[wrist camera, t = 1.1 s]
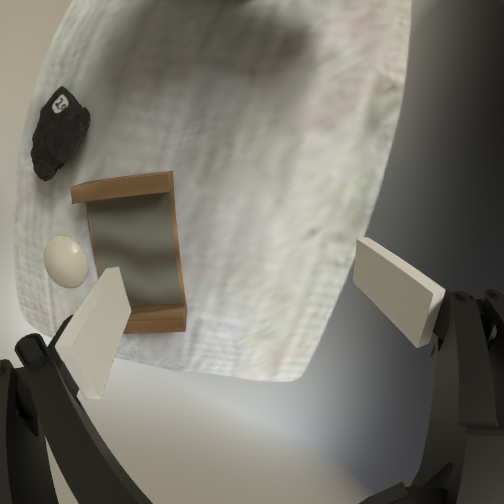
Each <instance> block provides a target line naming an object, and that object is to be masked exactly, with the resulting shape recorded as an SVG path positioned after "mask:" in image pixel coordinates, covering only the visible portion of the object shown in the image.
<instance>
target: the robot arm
mask: <svg viewBox="0 0 504 504" xmlns="http://www.w3.org/2000/svg"><path fill="white" fill-rule="evenodd" d="M353 282H354V283H355V284H356V285H357V286H358V287H359V288H360V289H361V290H362V291H363V292H364V293H365V294H366V295H367V296H368V297H369V298H370V299H371V300H372V301H373V302H374V303H375V304H376V305H377V306H378V307H379V308H380V309H381V310H382V312H383V313H384V314H385V315H386V316H387V317H388V318H389V319H390V320H391V321H392V322H393V323H394V324H395V325H396V326H397V327H398V328H399V329H400V330H401V331H402V332H403V333H404V334H405V336H406V337H407V338H408V339H409V340H410V341H411V342H412V343H413V344H414V345H415V346H416V347H417V348H418V347H421V346H423V345H426V344H428V343H429V342H430V339H431V336H432V333H433V332H434V333H435V334H436V335H437V339H436V342H435V344H434V347H433V349H432V352H431V355H430V356H433V353H435V364H434V366H435V367H434V382H433V394H432V403H431V411H430V419H429V426H428V432H427V438H426V443H425V448H424V453H423V457H422V461H421V465H420V468H419V471H418V473H417V474H416V476H415V478H414V480H413V482H412V484H411V486H410V487H405V486H404V484H403V482H401V483H399V484H397V485H395V486H393V487H391V488H388V489H386V490H384V491H382V492H380V493H377V494H375V495H373V496H370V497H368V498H367V499H365V500H364V501H362V502H361V503H359V504H504V294H503V293H501V292H499V290H497V289H486V290H485V291H484V294H483V297H482V299H475V298H474V297H473V296H472V295H471V294H469V293H467V292H464V291H453V292H450V291H449V290H447V289H446V288H445V287H443V286H442V285H440V284H439V283H438V282H435V280H433V279H432V278H430V277H429V276H428V275H426V274H425V273H423V272H421V271H418V270H417V269H415V268H414V267H412V266H411V265H409V264H408V263H407V262H405V261H404V260H402V259H401V258H399V257H397V256H396V255H394V254H393V253H391V252H390V251H388V250H387V249H385V248H384V247H382V246H381V245H379V244H377V243H376V242H374V241H372V240H371V239H369V238H368V237H367V238H359V239H357V242H356V256H355V268H354V278H353ZM130 313H131V308H130V305H129V301H128V298H127V295H126V291H125V288H124V284H123V280H122V277H121V273H120V269H119V267H113V268H106V270H105V271H104V272H103V274H102V275H101V276H100V278H99V279H98V281H97V282H96V283H95V285H94V286H93V288H92V289H91V290H90V292H89V293H88V295H87V296H86V298H85V299H84V301H83V302H82V303H81V305H80V306H79V308H78V309H77V311H76V313H75V314H74V315H71V316H69V317H68V318H67V319H66V320H65V321H64V322H63V323H62V325H61V326H60V328H59V329H58V331H57V332H56V335H55V336H54V337H53V339H52V340H51V342H50V344H49V345H48V347H47V346H46V344H45V342H44V340H43V338H42V336H41V335H40V334H37V333H33V334H29V335H26V336H25V337H23V338H21V339H20V340H19V341H18V342H17V344H16V346H15V352H16V354H17V355H18V357H19V359H20V361H21V362H22V364H23V366H24V367H21V368H14V367H13V366H12V364H11V362H10V361H9V360H6V359H3V360H0V504H59V503H58V499H57V496H56V492H55V488H54V484H53V479H52V475H51V471H50V465H49V460H48V453H47V448H46V440H45V436H46V438H47V441H48V444H49V446H50V448H51V450H52V453H53V455H54V457H55V459H56V462H57V464H58V466H59V468H60V470H61V472H62V474H63V476H64V478H65V480H66V482H67V484H68V486H69V487H70V489H71V491H72V493H73V494H74V496H75V498H76V499H77V501H78V503H79V504H153V503H152V502H151V501H150V500H149V499H148V498H147V497H146V495H145V494H144V493H143V492H142V491H141V490H140V489H139V487H138V486H137V485H136V484H135V483H134V481H133V480H132V479H131V478H130V476H129V475H128V474H127V473H126V472H125V470H124V469H123V468H122V466H121V465H120V464H119V462H118V461H117V459H116V458H115V457H114V455H113V454H112V453H111V451H110V450H109V448H108V447H107V445H106V444H105V442H104V441H103V439H102V438H101V436H100V435H99V433H98V432H97V430H96V428H95V427H94V425H93V424H92V422H91V420H90V418H89V417H88V415H87V413H86V412H85V410H84V408H83V406H82V404H81V402H80V401H79V400H78V398H77V393H78V391H79V390H80V391H81V393H82V394H83V396H84V397H85V399H95V400H101V399H102V395H103V392H104V388H105V385H106V382H107V379H108V376H109V372H110V369H111V366H112V363H113V360H114V357H115V354H116V352H117V349H118V346H119V343H120V340H121V337H122V335H123V332H124V329H125V327H126V324H127V321H128V319H129V316H130ZM495 327H496V329H497V334H496V337H495V338H493V336H492V334H493V332H494V329H495ZM496 421H497V424H498V427H497V424H496Z"/></svg>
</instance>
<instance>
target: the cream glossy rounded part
mask: <svg viewBox="0 0 504 504" xmlns="http://www.w3.org/2000/svg"><path fill="white" fill-rule="evenodd" d="M44 263H45V267H46V270H47V272H48V274H49V275H50V277H51V278H52V279H53V280H54V281H55V282H56V283H58V284H59V285H61V286H63V287H67V288H73V287H76V286H78V285H80V284H81V283H82V282H83V281H84V279H85V278H86V276H87V272H88V261H87V257H86V255H85V252H84V250H83V249H82V247H81V246H80V245H79V244H78V243H77V242H76V241H75V240H73V239H71V238H69V237H66V236H58V237H55V238H54V239H52V240H51V241H50V242H49V243H48V244H47V246H46V248H45V251H44Z"/></svg>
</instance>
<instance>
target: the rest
mask: <svg viewBox="0 0 504 504" xmlns="http://www.w3.org/2000/svg"><path fill="white" fill-rule="evenodd" d="M71 196H72V204H74V203H81V202H86V207H87V214H88V221H89V228H90V234H91V239H92V245H93V250H94V255H95V260H96V264H97V269H98V273H99V278H100V276H101V275H102V274H103V272H104V271H105V270H106V268H113V267H119V269H120V273H121V277H122V280H123V284H124V288H125V291H126V295H127V298H128V301H129V305H130V308H131V313H130V316H129V319H128V321H127V324H126V327H125V329H124V332H123V334H129V333H164V332H184V331H186V318H187V307H186V300H185V293H184V286H183V278H182V270H181V262H180V253H179V244H178V234H177V224H176V212H175V199H174V185H173V171H168V172H158V173H148V174H140V175H131V176H124V177H116V178H109V179H103V180H96V181H90V182H86V183H82V184H79V185H75V186H72V187H71Z"/></svg>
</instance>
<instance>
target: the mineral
mask: <svg viewBox="0 0 504 504" xmlns="http://www.w3.org/2000/svg"><path fill="white" fill-rule="evenodd" d="M89 122H90V113H89V111H88V110H87V108H85V107H84V108H82V107H81V105H80V104H79V103H78V101H77V100H76V99H75V97H74V96H73V95H72V94H71V93H70V92H69V91H68V90H67V89H66V88H64V87H63V86H61V87H60V88H59V89H58V90H56V91H55V93H54V94H53V95H52V97H51V98H50V99H49V100H48V102H47V103H46V104H45V105H44V106H43V108H42V109H41V111H40V119H39V122H38V124H37V127H36V130H35V132H34V134H33V137H32V141H33V147H32V150H31V157H32V162H33V166H34V167H33V168H34V171H35V173H36V174H37V175H38V176H39V178H40V179H43V181H48V180H51V179H52V178H53V177H54V175H55V174H56V172H57V170H58V169H60V168H61V167H62V166H63V165H64V164H65V162H66V161H67V160H69V159H70V158H71V157H72V155H73V154H74V152H75V151H76V149H77V147H78V145H79V144H80V142H81V138H82V136H83V135H84V133H85V131H86V130H87V128H88V126H89Z"/></svg>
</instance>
